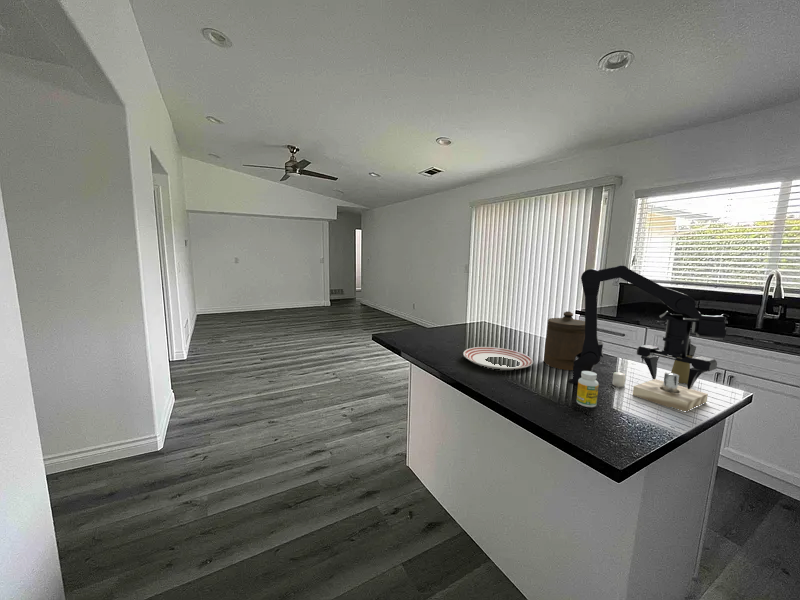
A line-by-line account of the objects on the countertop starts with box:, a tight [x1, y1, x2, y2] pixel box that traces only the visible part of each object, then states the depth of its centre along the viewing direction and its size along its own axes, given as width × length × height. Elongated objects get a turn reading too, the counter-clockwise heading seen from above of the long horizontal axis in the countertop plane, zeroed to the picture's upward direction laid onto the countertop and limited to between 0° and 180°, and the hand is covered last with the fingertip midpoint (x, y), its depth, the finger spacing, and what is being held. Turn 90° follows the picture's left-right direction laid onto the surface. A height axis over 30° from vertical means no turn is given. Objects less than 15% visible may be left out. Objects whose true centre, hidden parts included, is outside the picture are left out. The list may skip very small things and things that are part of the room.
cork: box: [670, 355, 694, 385], centre depth 123 cm, size 6×6×11 cm
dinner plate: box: [462, 346, 534, 371], centre depth 140 cm, size 27×27×3 cm
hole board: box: [632, 378, 709, 412], centre depth 107 cm, size 14×14×3 cm
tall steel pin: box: [663, 372, 679, 393], centre depth 106 cm, size 4×4×8 cm
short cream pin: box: [611, 371, 626, 388], centre depth 118 cm, size 4×4×4 cm
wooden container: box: [543, 311, 585, 371], centre depth 138 cm, size 15×15×22 cm
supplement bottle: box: [576, 371, 599, 408], centre depth 101 cm, size 5×5×10 cm
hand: (670, 383), depth 106 cm, fingers open, 9 cm apart
